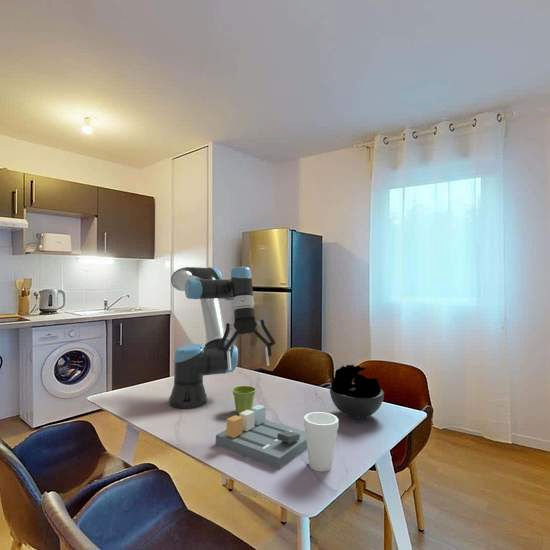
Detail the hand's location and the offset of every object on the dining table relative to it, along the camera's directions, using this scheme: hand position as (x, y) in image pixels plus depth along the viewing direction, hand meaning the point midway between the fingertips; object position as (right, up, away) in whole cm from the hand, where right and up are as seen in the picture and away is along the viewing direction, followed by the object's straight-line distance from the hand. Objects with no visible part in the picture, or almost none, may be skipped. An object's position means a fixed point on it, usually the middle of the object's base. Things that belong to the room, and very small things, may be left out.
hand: (249, 368), depth 126 cm
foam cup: (+22, -20, -27) cm, 40 cm away
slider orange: (-3, -16, -16) cm, 23 cm away
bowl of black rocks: (+40, -21, +9) cm, 46 cm away
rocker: (+13, -15, -20) cm, 28 cm away
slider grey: (+4, -17, -6) cm, 18 cm away
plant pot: (-3, -20, +13) cm, 24 cm away
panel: (+6, -20, -15) cm, 25 cm away
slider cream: (0, -17, -11) cm, 20 cm away
